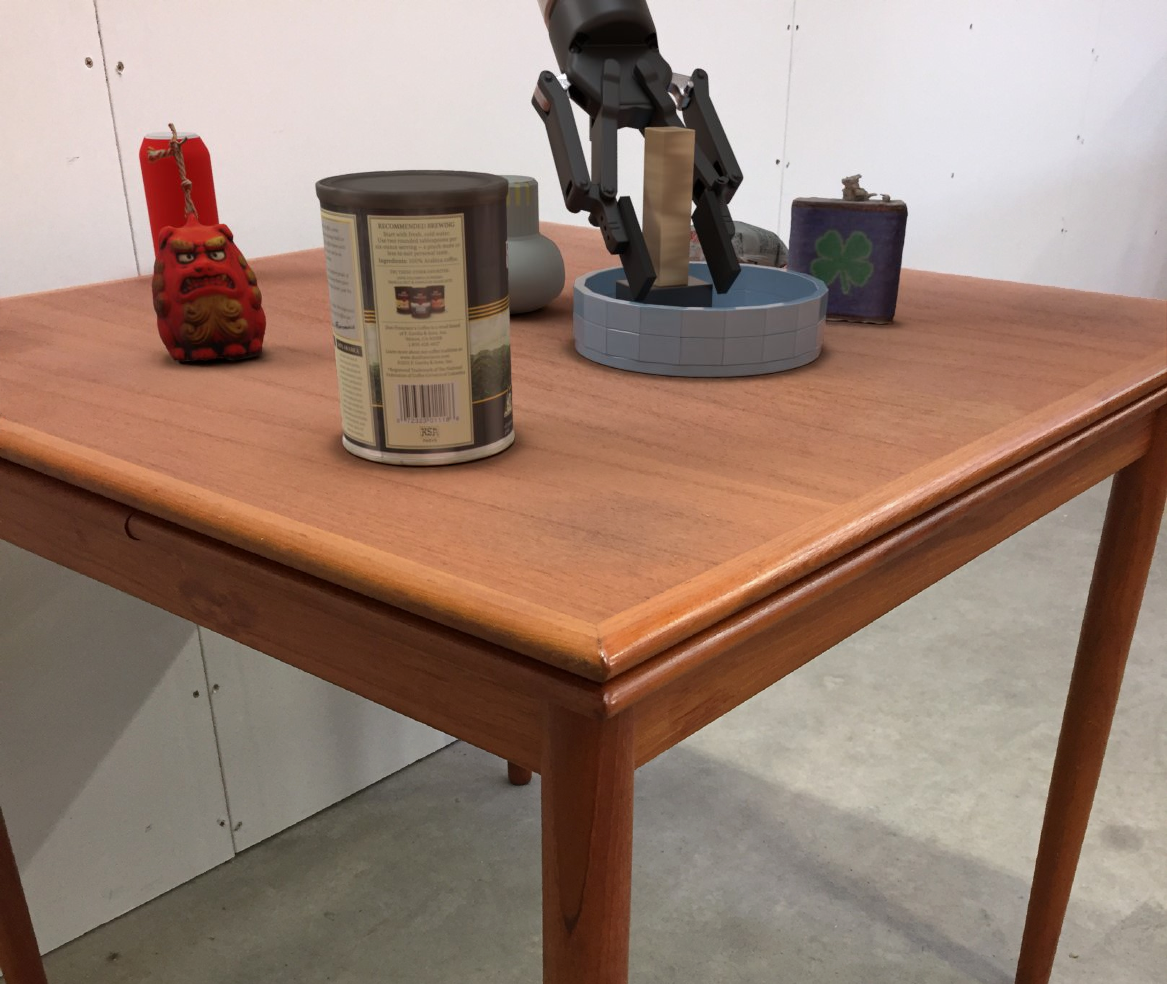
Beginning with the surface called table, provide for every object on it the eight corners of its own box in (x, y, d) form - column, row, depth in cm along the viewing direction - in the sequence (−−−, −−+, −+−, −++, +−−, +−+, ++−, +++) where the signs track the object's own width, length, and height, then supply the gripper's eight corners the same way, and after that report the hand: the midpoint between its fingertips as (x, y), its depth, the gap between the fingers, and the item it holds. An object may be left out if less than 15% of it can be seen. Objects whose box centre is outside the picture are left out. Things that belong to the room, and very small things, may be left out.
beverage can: (203, 268, 122) (183, 129, 116) (239, 277, 119) (220, 134, 112) (146, 276, 118) (122, 133, 112) (181, 285, 115) (158, 138, 108)
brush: (685, 316, 96) (694, 125, 89) (711, 326, 93) (722, 129, 86) (614, 322, 94) (617, 127, 87) (638, 334, 91) (643, 132, 84)
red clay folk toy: (170, 371, 88) (131, 131, 81) (154, 350, 94) (115, 123, 86) (278, 360, 91) (250, 128, 83) (256, 340, 97) (228, 120, 89)
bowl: (842, 331, 100) (849, 270, 98) (789, 387, 85) (795, 318, 83) (622, 312, 106) (623, 255, 103) (536, 362, 91) (535, 297, 89)
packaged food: (716, 292, 113) (720, 233, 110) (647, 271, 122) (649, 215, 119) (794, 285, 116) (800, 227, 114) (721, 265, 125) (725, 211, 123)
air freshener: (572, 318, 104) (572, 184, 99) (475, 325, 101) (470, 188, 96) (531, 293, 112) (529, 169, 107) (441, 299, 110) (435, 173, 105)
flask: (779, 316, 104) (791, 174, 99) (786, 310, 107) (798, 170, 101) (892, 325, 102) (911, 179, 96) (897, 318, 104) (915, 175, 99)
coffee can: (463, 407, 81) (452, 164, 74) (547, 448, 74) (544, 183, 66) (312, 431, 76) (285, 174, 69) (386, 478, 69) (364, 196, 61)
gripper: (689, 51, 100) (780, 307, 96) (463, 54, 93) (550, 328, 89) (727, -29, 93) (826, 243, 89) (485, -33, 86) (580, 261, 82)
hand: (687, 285), depth 89 cm, fingers closed on brush, 6 cm apart
